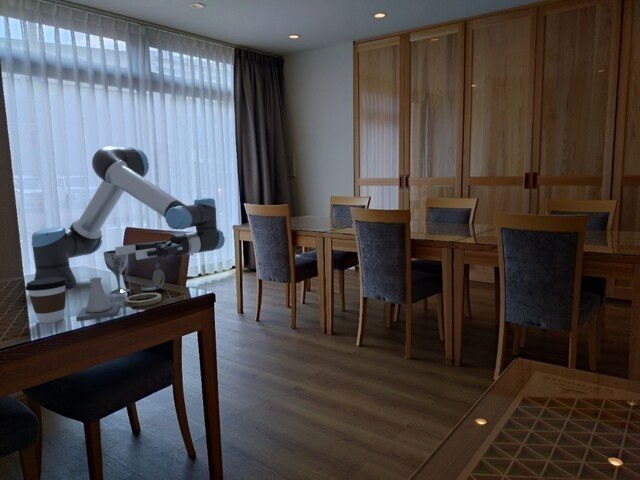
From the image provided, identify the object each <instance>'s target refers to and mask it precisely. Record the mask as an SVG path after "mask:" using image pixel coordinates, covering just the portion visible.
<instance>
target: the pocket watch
mask: <svg viewBox="0 0 640 480" xmlns="http://www.w3.org/2000/svg"><path fill="white" fill-rule="evenodd" d="M160 265H161V264H160V263H159V262H157V263H156V264H155V265H154V267H155V268H156V270H155V271H154V272H153V274H152V280H151V281H152V285H145V286H143V287H142V286H141V291H143V292H154V291H157V290H160V289H161V288H162V287H163V286H164V284H165V280H166V279H165V278H166V276H165V273H164V271H163V270H162V269H159V267H160Z"/></svg>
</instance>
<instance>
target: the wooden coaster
mask: <svg viewBox="0 0 640 480" xmlns="http://www.w3.org/2000/svg"><path fill="white" fill-rule="evenodd" d="M142 299H143V300H142ZM161 301H162V294H160V293H158V292H146V293H139V294H133V295H130V296H128V297H125V298H124V301H123V302H124V306H126V307H134V308H135V307H139V308H140V307H147V306H150V305H151V306H152V305H155V304H157V303H158V304H159V303H160V302H161Z"/></svg>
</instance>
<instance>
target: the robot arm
mask: <svg viewBox="0 0 640 480" xmlns="http://www.w3.org/2000/svg"><path fill="white" fill-rule="evenodd" d="M91 165H92V169H93V171H94V174H96V176H98V178H100V179H101V180H102V181H101V183H100V185H99V186H98V188H97V190H96V191H95V193H94V195H93V196H92V198H91V199H90V201H89V203H88V205H87V206H86V208H85V209H84V211H83V213H82V214H81V216H80V218H76V219H74V221H72V223H71V224H70V226H69V228H67V229H66V228H65V227H63V226H54V227H48V228H43V229H39V230H37V231H34V232H33V234H32V235H31V247H32V251H33V260H34V265H35V266H34V268H35V273H34V277H33V281H34V280H39V279H44V278H54V277H63V278H65V279H66V281H68V284H67V285H65V290H70V289H72V288H75V287H77V285H78V283H77V278H76V276H75V274H74V272H73V271H72V268H71V267H70V265H71V264H70V259H72V258H77V257H82V256H87V255H88V256H89V255H92V254H93V253H95V252H97V251H98V250H99V249H100V248H101V246H102V243H103V239H102V238H103V235H102V234H103V233H102V230H101V229H102V227H103V226H104V224H105V222H106V221H107V219H108V218H109V216H110V215H111V213H112V211H113V210H114V208H115V207H116V205H117V203H118V201H119V200H120V199H121V197H122V195H123V194H124V192H126V193H127V194H129V195H130V196H131V197H133V198H134V199H136V200H138V201H139V202H141V203H142V204H144V205H145V206H146V207H148V208H150V209H151V210H153V211H154V212H156V213H157V214H158V215H160V216H162V217H163V218H165V223H166V224H167V226H168V227H169V228H170V229H172V230H185V229H189V228H193V227H195V231H193V232H185V233H180V234H174V235H173V234H172V235H171V236H170V238H169V240H160V241H153V242H152V241H151V242H140V243H139V242H138V243H132V244H130V245H120V246H116V247H114V250H115V251H116V255H124V254H127V255H130V254H134V255H135V259H136V260H144V259H150V258H157V257H163V258H165V257H168V256H170V255H173V256H174V257H182V256H186V255H190V256H194V254H198V253H205V252H210V251H211V252H213V251H216V250H219V249H222V248H223V246H224V244H225V241H226V238H225V236H224V233H223V231H222V230H220V229H218V224H217V207H216V200H215V198H214V197H200V198H195V199H194V200H193V204H190V205H186V204H185V203H184V202H181V201H180V200H178V199H177V198H176V197H174V196H172V195H170V194H169V193H168V192H166V191H164V190H163V189H161V188H160V187H158V186H157V185H155V184H154V183H152V182H151V181H150V180H148V179H146V178H145V177H146V175H147V174H148V172H149V171H150V170H149V169H150V168H149V167H150V163H149V159H148V157H147V154H146V153H145V152H144V151H143V150H141V149H140V148H136V147H132V146H129V147H123V146H122V147H121V146H120V147H119V146H104V147H101V148H100V149H98V150H97V151H96V152H95V153H94V155H93V157H92V160H91Z"/></svg>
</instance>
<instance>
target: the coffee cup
mask: <svg viewBox="0 0 640 480" xmlns="http://www.w3.org/2000/svg"><path fill="white" fill-rule="evenodd" d="M67 284H68V281H66V279H65V278H63V277H54V278H44V279H39V280H34V279H33V280H31V281H29V282H27V283H26V286H25V288H24V290H25V291H28V293H29V299H30V301H31V302H30V303H31V304H32V308H33V312H34V313H35V314H36V318H37V320H38V322H39V323H40V324H52V323H56V322H57V323H58V322H60V321H62V320H63V319H64V316H65V309H66V297H67V296H66V294H67V289H65V285H67Z"/></svg>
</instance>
